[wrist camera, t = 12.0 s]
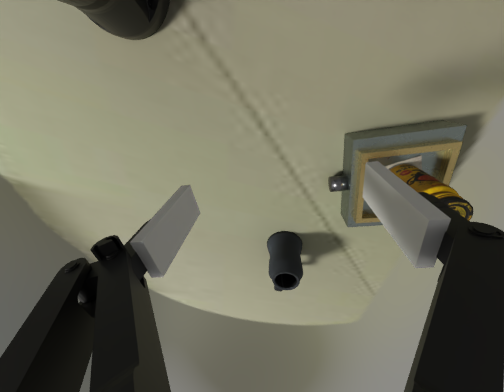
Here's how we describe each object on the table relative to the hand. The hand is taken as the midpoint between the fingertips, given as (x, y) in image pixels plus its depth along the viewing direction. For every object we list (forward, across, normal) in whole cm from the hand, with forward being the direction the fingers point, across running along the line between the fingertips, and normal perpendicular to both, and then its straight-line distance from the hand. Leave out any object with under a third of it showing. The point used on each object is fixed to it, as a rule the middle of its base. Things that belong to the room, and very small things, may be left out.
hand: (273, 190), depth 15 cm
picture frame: (+26, +19, -13) cm, 35 cm away
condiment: (+21, +20, -13) cm, 32 cm away
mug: (+26, -2, -31) cm, 41 cm away
